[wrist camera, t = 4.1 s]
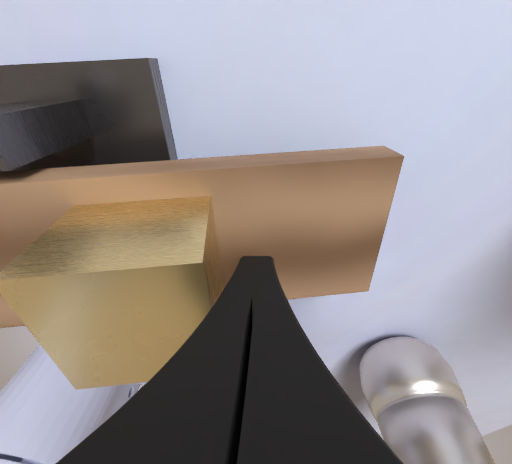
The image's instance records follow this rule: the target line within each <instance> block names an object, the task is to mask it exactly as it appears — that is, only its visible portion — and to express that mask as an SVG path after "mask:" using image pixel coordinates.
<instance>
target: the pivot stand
mask: <svg viewBox="0 0 512 464" xmlns="http://www.w3.org/2000/svg"><path fill="white" fill-rule="evenodd" d="M166 160H177V155H176V150H175V145H174V140H173V135H172V130H171V125H170V120H169V115H168V110H167V105H166V100H165V95H164V90H163V85H162V81H161V76H160V71H159V66H158V61H157V59H155V58H141V59H121V60H101V61H81V62H61V63H41V64H21V65H1V66H0V172H2V171H17V170H31V169H46V168H61V167H76V166H91V165H106V164H121V163H136V162H151V161H166Z"/></svg>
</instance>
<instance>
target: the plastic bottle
mask: <svg viewBox="0 0 512 464" xmlns="http://www.w3.org/2000/svg"><path fill="white" fill-rule="evenodd" d="M359 371H360V380H361V387H362V391H363V393H364V396H365V398H366V401H367V403H368V405H369V408H370V410H371V412H372V414H373V416H374V418H375V420H376V421H377V422H378V425H379V428H380V431H381V433H382V436H383V439H384V441H385V443H386V444H387V445H388V446H389V447H390V449H391V450H392V451H393V452H394V453H395V454H396V456H397V457H398V458H399V459H400V460H401V461H402V462H403V464H495V462H494V460H493V458H492V456H491V454H490V452H489V450H488V448H487V446H486V444H485V442H484V440H483V438H482V436H481V434H480V432H479V430H478V428H477V426H476V424H475V422H474V420H473V418H472V416H471V414H470V412H469V410H468V408H467V405H466V400H465V398H464V395H463V392H462V389H461V387H460V385H459V383H458V380H457V378H456V376H455V374H454V372H453V370H452V368H451V367H450V365H449V364H448V363H447V362H446V360H445V359H444V358H443V357H442V356H441V354H440V353H439V352H438V351H437V350H436V349H435V348H434V347H433V346H431V345H429V344H427V343H425V342H424V341H422V340H420V339H417V338H413V337H393V338H388V339H385V340H382V341H379V342H377V343H375V344H374V345H372V346H371V347H369V348H368V349H367V350H366V351H365V353H364V355H363V357H362V360H361V362H360V366H359Z"/></svg>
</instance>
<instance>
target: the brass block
mask: <svg viewBox="0 0 512 464" xmlns="http://www.w3.org/2000/svg"><path fill="white" fill-rule="evenodd" d="M223 290H224V287H223V280H222V273H221V265H220V258H219V251H218V244H217V237H216V230H215V222H214V215H213V208H212V201H211V196H200V197H186V198H172V199H158V200H144V201H130V202H116V203H102V204H88V205H74V206H72V207H71V208H70V209H69V210H68V211H67V212H66V213H65V214H64V215H63V216H61V217H60V218H59V219H58V220H57V221H56V222H55V223H54V224H53V225H52V226H50V227H49V228H48V229H47V230H46V231H45V232H44V233H43V234H42V235H41V236H39V237H38V238H37V239H36V240H35V241H34V242H33V243H32V244H31V245H30V246H28V247H27V248H26V249H25V250H24V251H23V252H22V253H21V254H20V255H19V256H17V257H16V258H15V259H14V260H13V261H12V262H11V263H10V264H9V265H8V266H6V267H5V268H4V269H3V270H2V271H1V272H0V294H1V295H2V296H3V298H4V299H5V300H6V301H7V303H8V304H9V305H10V306H11V308H12V309H13V310H14V312H15V313H16V314H17V315H18V317H19V318H20V319H21V320H22V322H23V323H24V324H25V326H26V327H27V328H28V329H29V330H30V332H31V333H32V335H33V336H34V337H35V338H36V340H37V341H38V342H39V343H40V345H41V346H42V347H43V349H44V350H45V351H46V352H47V354H48V355H49V356H50V357H51V359H52V360H53V361H54V363H55V364H56V365H57V366H58V368H59V369H60V370H61V371H62V373H63V374H64V375H65V377H66V378H67V379H68V380H69V382H70V383H71V384H72V385H73V387H74V388H75V389H76V390H79V389H88V388H97V387H106V386H114V385H123V384H132V383H141V382H148V381H149V380H150V379H151V378H152V377H153V376H154V375H155V374H156V373H157V372H158V371H159V370H160V369H161V368H162V367H163V366H164V365H165V364H166V363H167V362H168V360H169V359H170V358H171V357H172V356H173V355H174V354H175V353H176V352H177V351H178V350H179V348H180V347H181V346H182V345H183V344H184V343H185V341H186V340H187V339H188V338H189V337H190V336H191V334H192V333H193V332H194V331H195V329H196V328H197V327H198V326H199V324H200V323H201V322H202V320H203V319H204V318H205V316H206V315H207V313H208V312H209V311H210V309H211V308H212V306H213V305H214V304H215V302H216V301H217V299H218V298H219V296H220V295H221V293H222V291H223Z"/></svg>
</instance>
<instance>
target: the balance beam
mask: <svg viewBox="0 0 512 464" xmlns="http://www.w3.org/2000/svg"><path fill="white" fill-rule="evenodd" d="M403 159H404V156H403V155H401V154H399V153H397V152H395V151H393V150H391V149H389V148H387V147H385V146H375V147H360V148H345V149H330V150H315V151H300V152H285V153H270V154H255V155H240V156H226V157H211V158H196V159H181V160H166V161H151V162H136V163H121V164H106V165H91V166H76V167H61V168H46V169H31V170H17V171H2V172H0V272H1V271H2V270H3V269H4V268H5V267H6V266H8V265H9V264H10V263H11V262H12V261H13V260H14V259H15V258H16V257H17V256H19V255H20V254H21V253H22V252H23V251H24V250H25V249H26V248H27V247H28V246H30V245H31V244H32V243H33V242H34V241H35V240H36V239H37V238H38V237H39V236H41V235H42V234H43V233H44V232H45V231H46V230H47V229H48V228H49V227H50V226H52V225H53V224H54V223H55V222H56V221H57V220H58V219H59V218H60V217H61V216H63V215H64V214H65V213H66V212H67V211H68V210H69V209H70V208H71V207H72V206H74V205H88V204H102V203H116V202H130V201H144V200H158V199H172V198H186V197H200V196H211V201H212V208H213V215H214V222H215V230H216V237H217V244H218V251H219V258H220V265H221V273H222V280H223V287H224V288H225V287H226V285H227V283H228V282H229V280H230V278H231V277H232V275H233V273H234V271H235V269H236V267H237V265H238V263H239V261H240V258H242V257H243V256H271V257H272V258H273V259H274V265H275V269H276V273H277V276H278V279H279V281H280V284H281V287H282V289H283V291H284V294H285V296H286V298H287V299H295V298H305V297H315V296H325V295H335V294H345V293H355V292H365V291H369V287H370V283H371V279H372V275H373V272H374V268H375V264H376V260H377V257H378V253H379V249H380V245H381V242H382V238H383V234H384V230H385V226H386V223H387V219H388V215H389V211H390V208H391V204H392V200H393V196H394V192H395V189H396V185H397V181H398V177H399V174H400V170H401V166H402V162H403ZM15 326H25V324H24V323H23V322H22V320H21V319H20V318H19V317H18V315H17V314H16V313H15V312H14V310H13V309H12V308H11V306H10V305H9V304H8V303H7V301H6V300H5V299H4V298H3V296H2V295H1V294H0V328H5V327H15Z"/></svg>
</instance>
